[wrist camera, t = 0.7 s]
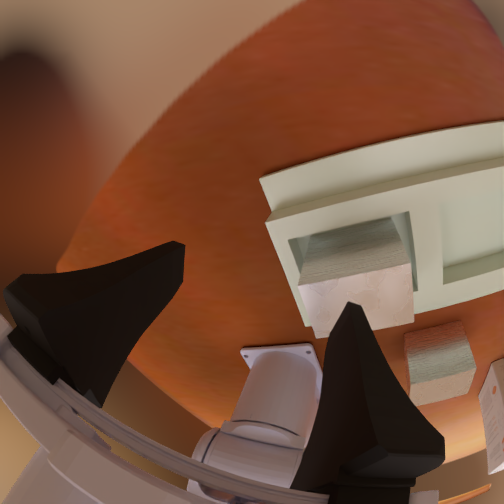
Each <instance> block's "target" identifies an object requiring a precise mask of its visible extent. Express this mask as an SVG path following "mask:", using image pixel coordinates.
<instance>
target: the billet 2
mask: <svg viewBox="0 0 504 504" xmlns="http://www.w3.org/2000/svg"><path fill="white" fill-rule="evenodd" d="M404 350H405V368H406V378H407V391H408V397H409V398H410V399H411V401H412V402H413V404H414V405H415V406H419V405H424V404H428V403H433V402H437V401H441V400H445V399H449V398H453V397H456V396H460V395H463V394H467V393H468V391H469V388H470V386H471V383H472V380H473V377H474V374H475V371H476V364H475V361H474V358H473V354H472V351H471V348H470V345H469V342H468V339H467V336H466V333H465V331H464V328H463V325H462V323H461V320H458V321H454V322H451V323H447V324H443V325H439V326H435V327H431V328H427V329H422V330H418V331H413V332H408V333H404Z"/></svg>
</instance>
